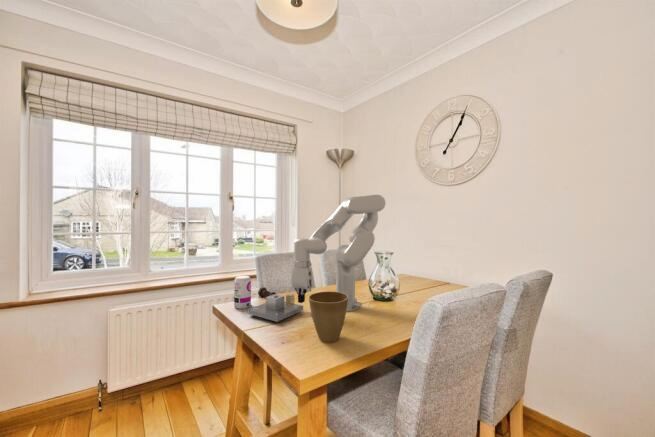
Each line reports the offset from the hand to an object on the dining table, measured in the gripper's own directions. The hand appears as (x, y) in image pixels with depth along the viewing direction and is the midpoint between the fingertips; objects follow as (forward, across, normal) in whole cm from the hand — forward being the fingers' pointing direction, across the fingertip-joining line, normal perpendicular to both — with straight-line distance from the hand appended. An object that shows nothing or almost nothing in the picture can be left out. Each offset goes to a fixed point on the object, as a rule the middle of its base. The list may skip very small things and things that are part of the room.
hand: (301, 302), depth 136 cm
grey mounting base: (+4, +7, +8) cm, 12 cm away
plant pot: (+5, -27, +18) cm, 33 cm away
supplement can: (+5, +29, +11) cm, 31 cm away
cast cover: (+1, +8, +10) cm, 13 cm away
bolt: (+5, +28, -7) cm, 29 cm away
